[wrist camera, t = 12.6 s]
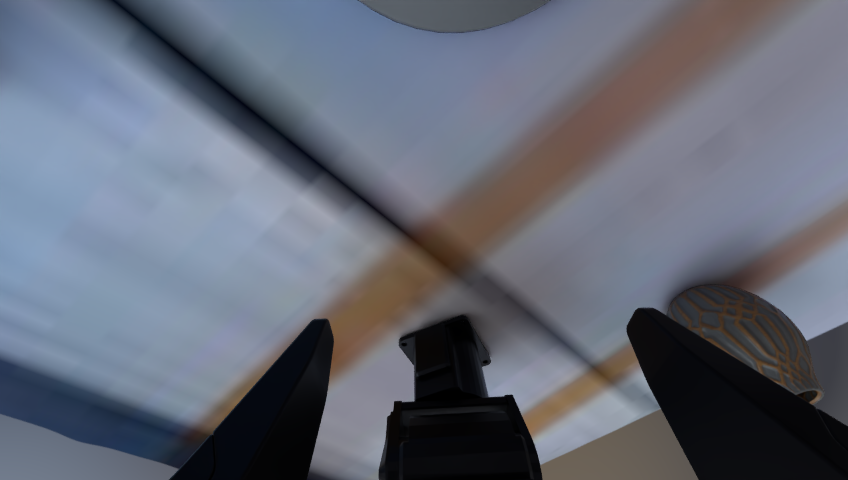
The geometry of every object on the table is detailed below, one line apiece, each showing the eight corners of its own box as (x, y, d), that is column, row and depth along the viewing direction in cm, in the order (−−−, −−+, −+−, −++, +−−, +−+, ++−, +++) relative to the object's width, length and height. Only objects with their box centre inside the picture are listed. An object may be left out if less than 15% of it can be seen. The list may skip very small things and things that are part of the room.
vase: (646, 290, 26) (743, 386, 18) (737, 258, 25) (882, 348, 17) (654, 341, 29) (740, 442, 22) (735, 316, 28) (857, 413, 20)
